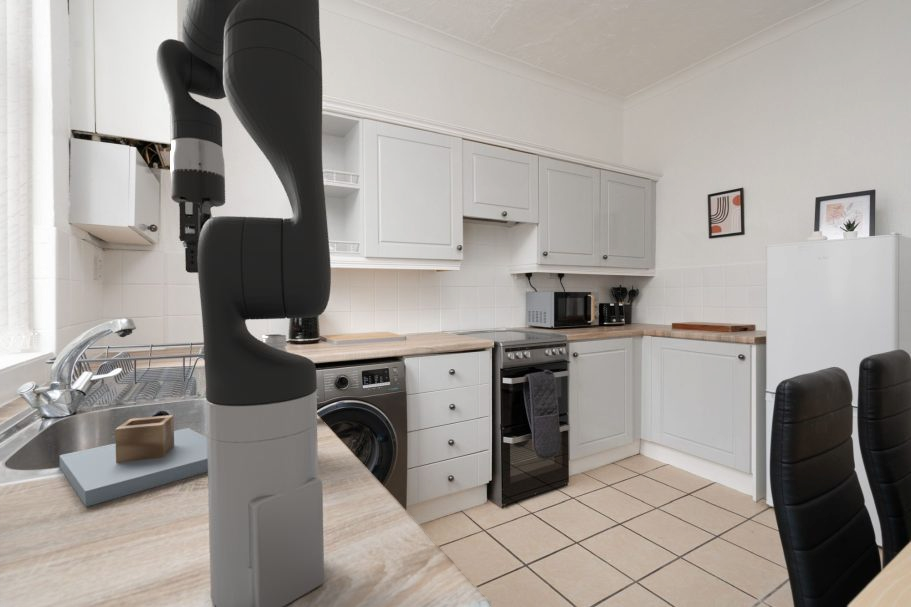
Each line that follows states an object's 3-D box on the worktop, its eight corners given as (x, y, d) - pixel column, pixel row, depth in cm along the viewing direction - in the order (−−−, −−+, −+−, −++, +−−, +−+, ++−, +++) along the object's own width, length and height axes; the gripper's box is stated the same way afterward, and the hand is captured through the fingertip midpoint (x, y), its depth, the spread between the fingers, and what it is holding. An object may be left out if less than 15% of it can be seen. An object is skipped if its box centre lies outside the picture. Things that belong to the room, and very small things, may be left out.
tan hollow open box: (174, 445, 72) (173, 414, 72) (163, 457, 67) (162, 424, 66) (131, 449, 70) (130, 418, 70) (116, 462, 65) (115, 429, 65)
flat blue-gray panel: (233, 464, 69) (232, 426, 69) (85, 506, 55) (84, 459, 55) (188, 438, 82) (187, 406, 82) (59, 468, 68) (58, 429, 68)
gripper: (216, 162, 65) (218, 271, 65) (231, 186, 78) (233, 276, 79) (157, 158, 62) (160, 271, 63) (183, 183, 76) (185, 276, 76)
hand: (200, 274), depth 71 cm, fingers open, 8 cm apart
